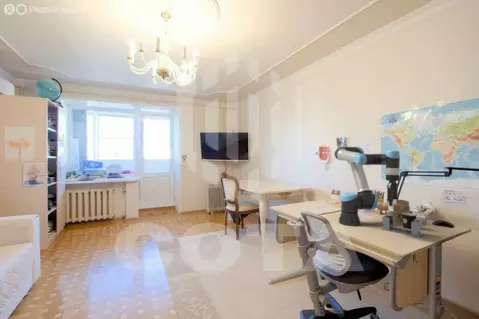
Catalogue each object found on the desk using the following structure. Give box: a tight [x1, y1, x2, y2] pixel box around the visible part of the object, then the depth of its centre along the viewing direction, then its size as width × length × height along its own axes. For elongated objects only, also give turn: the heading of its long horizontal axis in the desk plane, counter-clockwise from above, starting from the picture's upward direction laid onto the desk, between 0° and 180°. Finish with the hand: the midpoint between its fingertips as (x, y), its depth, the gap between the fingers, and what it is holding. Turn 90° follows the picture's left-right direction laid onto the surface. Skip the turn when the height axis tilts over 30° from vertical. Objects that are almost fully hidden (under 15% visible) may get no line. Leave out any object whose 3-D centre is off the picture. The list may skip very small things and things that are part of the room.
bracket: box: [381, 214, 424, 238], centre depth 159 cm, size 22×8×9 cm, turn 41°
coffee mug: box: [399, 212, 417, 230], centre depth 169 cm, size 12×9×10 cm
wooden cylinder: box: [376, 201, 411, 213], centre depth 151 cm, size 17×5×5 cm, turn 41°
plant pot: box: [386, 199, 410, 223], centre depth 186 cm, size 15×15×16 cm
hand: (392, 210), depth 152 cm, fingers closed on wooden cylinder, 5 cm apart
